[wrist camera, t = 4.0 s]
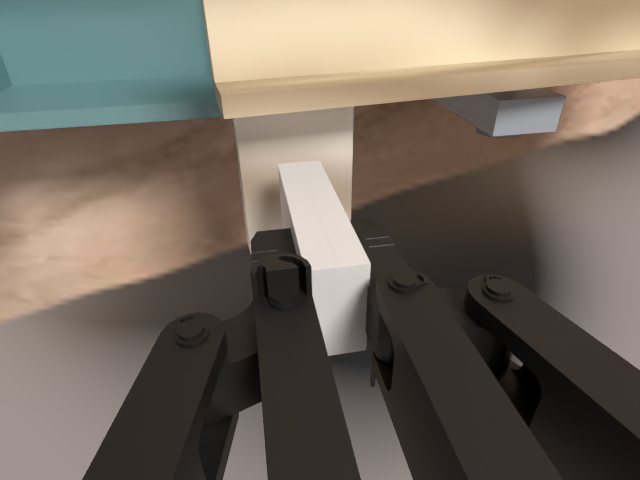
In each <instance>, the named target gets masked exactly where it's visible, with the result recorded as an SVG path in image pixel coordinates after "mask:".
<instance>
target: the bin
mask: <svg viewBox="0 0 640 480" xmlns="http://www.w3.org/2000/svg"><path fill="white" fill-rule="evenodd" d="M221 117H223V115H222V113H221V111H220V108H219V106H218V103H217V101H216V94H215V87H214V80H213V78H212V73H211V66H210V59H209V52H208V45H207V38H206V30H205V23H204V16H203V9H202V2H201V0H0V132H5V131H21V130H36V129H51V128H67V127H82V126H98V125H113V124H128V123H144V122H159V121H175V120H190V119H206V118H221Z"/></svg>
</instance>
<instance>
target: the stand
mask: <svg viewBox="0 0 640 480" xmlns="http://www.w3.org/2000/svg"><path fill="white" fill-rule="evenodd" d="M565 97H566V96H563V95H560V94H557V93H555V92H552V91H549V90H546V89H543V88H534V89H524V90H513V91H503V92H493V93H483V94H473V95H463V96H453V97H443V98H433V99H431V100H433V101H435V102H436V103H438V104H440V105H441V106H443V107H445V108H446V109H448V110H450V111H451V112H453V113H454V114H456V115H458V116H459V117H461V118H463V119H464V120H466V121H468V122H469V123H471V124H473V125H474V126H476V131H477V132H478V133H480V134H482V135H485V136H489V137H495V138H513V137H517V136H519V135H520V134H531V133H543V132H556V129H557V126H558V122H559V118H560V115H561V111H562V108H563V104H564V101H565Z"/></svg>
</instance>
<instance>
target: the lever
mask: <svg viewBox="0 0 640 480" xmlns="http://www.w3.org/2000/svg"><path fill="white" fill-rule="evenodd" d="M201 2H202V9H203V16H204V23H205V30H206V38H207V45H208V52H209V59H210V66H211V73H212V78H213V80H214V87H215V94H216V101H217V103H218V106H219V108H220V111H221V113H222V115H223V118H224V119H231V118H232V123H233V131H234V139H235V147H236V155H237V163H238V171H239V179H240V187H241V195H242V203H243V211H244V219H245V227H246V235H247V243H248V247H249V250H250V253H251V240H252V238H253V237H254V235H255V234H256V232H257V231H266V230H276V229H282V215H281V202H280V188H279V174H278V164H282V163H294V162H306V161H319V160H320V162H321V164H322V166H323V168H324V170H325V172H326V174H327V176H328V178H329V180H330V182H331V184H332V186H333V188H334V190H335V192H336V194H337V196H338V198H339V200H340V202H341V204H342V206H343V208H344V210H345V212H346V214H347V216H348V218H349V220H350V221H351V199H352V160H353V121H354V106H362V105H372V104H382V103H392V102H402V101H413V100H423V99H433V98H443V97H453V96H463V95H473V94H483V93H493V92H503V91H513V90H524V89H534V88H544V87H554V86H564V85H574V84H584V83H594V82H604V81H614V80H625V79H635V78H640V0H201Z"/></svg>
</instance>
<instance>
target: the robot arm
mask: <svg viewBox="0 0 640 480" xmlns="http://www.w3.org/2000/svg"><path fill="white" fill-rule="evenodd" d="M278 174H279V188H280V202H281V215H282V229H276V230H266V231H257V232H256V234H255V235H254V237H253V238H252V240H251V254H252V269H251V281H252V289H253V297H254V299H253V301H252V303H251V305H250V306H249V307H248V308H247V309H246V310H245V311H243V312H242V313H241V314H239V315H237V316H235V317H233V318H230V319H228V320H225V321H222V322H221V320H220V319H219V318H217V317H215V316H214V315H212V314H206V313H194V314H188V315H185V316H182V317H179V318H177V319H176V320H174V321H172V322H171V323H169V324H168V325H167V326H166V327H165V328H164V329H163V331H162V332H161V333H160V335H159V337H158V339H157V341H156V343H155V344H154V346H153V348H152V350H151V352H150V354H149V356H148V358H147V360H146V361H145V363H144V365H143V367H142V369H141V371H140V373H139V374H138V376H137V378H136V380H135V382H134V384H133V386H132V388H131V389H130V391H129V393H128V395H127V397H126V399H125V401H124V403H123V404H122V406H121V408H120V410H119V412H118V414H117V416H116V417H115V419H114V422H113V423H112V425H111V427H110V429H109V431H108V432H107V434H106V436H105V438H104V440H103V442H102V444H101V446H100V448H99V450H98V451H97V453H96V455H95V457H94V459H93V461H92V462H91V465H90V466H89V468H88V470H87V472H86V474H85V476H84V477H83V479H82V480H223V476H224V472H225V468H226V464H227V460H228V456H229V452H230V449H231V444H232V441H233V437H234V432H235V429H236V425H237V421H238V417H239V412H240V411H242V410H244V409H246V408H248V407H251V406H252V405H255V404H257V403H259V402H261V401H262V410H263V423H264V436H265V448H266V462H267V475H268V480H361V478H360V475H359V471H358V467H357V463H356V460H355V456H354V452H353V448H352V444H351V440H350V437H349V433H348V429H347V425H346V422H345V418H344V414H343V410H342V406H341V403H340V399H339V395H338V391H337V387H336V384H335V380H334V376H333V372H332V369H331V365H330V361H329V357H328V356H329V355H336V354H343V353H350V352H357V351H363V350H366V342H367V336H368V339H369V342H370V344H371V347H372V354H371V370H370V385H371V387H373V386H375V377H376V378H377V381H378V384H379V387H380V390H381V392H382V395H383V398H384V401H385V403H386V406H387V409H388V412H389V414H390V417H391V420H392V422H393V425H394V428H395V431H396V433H397V436H398V439H399V442H400V445H401V447H402V450H403V453H404V456H405V458H406V461H407V464H408V467H409V469H410V472H411V475H412V478H413V480H640V370H639V369H637V368H636V367H634V366H633V365H632V364H630V363H629V362H627V361H626V360H625V359H623V358H622V357H621V356H619V355H618V354H616V353H615V352H613V351H612V350H611V349H609V348H608V347H607V346H605V345H604V344H602V343H601V342H600V341H598V340H597V339H596V338H594V337H593V336H591V335H590V334H589V333H587V332H586V331H584V330H583V329H582V328H580V327H579V326H577V325H576V324H574V323H573V322H572V321H570V320H569V319H568V318H566V317H565V316H564V315H562V314H561V313H559V312H558V311H557V310H555V309H554V308H552V307H551V306H550V305H548V304H547V303H545V302H544V301H542V300H541V299H540V298H538V297H537V296H536V295H534V294H533V293H531V292H530V291H529V290H527V289H526V288H525V287H523V286H522V285H520V284H519V283H517V282H515V281H513V280H511V279H509V278H506V277H502V276H499V275H488V274H487V275H481V276H477V277H475V278H473V279H472V280H471V281H470V282H469V284H468V287H467V291H465V290H453V289H444V288H438V287H435V286H434V284H433V283H432V281H431V280H430V279H429V278H428V277H427V276H426V275H425V274H423V273H421V272H419V271H417V270H413V269H410V268H409V266H408V265H407V263H406V261H405V260H404V258H403V257H402V255H401V253H400V252H399V250H398V248H397V247H396V245H394V242H393V240H392V239H391V237H389V234H388V232H387V231H386V229H385V228H384V226H383V225H381V224H379V223H378V222H377V221H375V220H374V219H372V218H371V219H362V220H352V221H350V220H349V218H348V216H347V214H346V212H345V210H344V208H343V206H342V204H341V202H340V200H339V198H338V196H337V194H336V192H335V190H334V188H333V186H332V184H331V182H330V180H329V178H328V176H327V174H326V172H325V170H324V168H323V166H322V164H321V162H320V160H319V161H306V162H294V163H282V164H278ZM513 354H514V355H515V356H516V357H517V358H518V359H519V360H520V361H521V362H523V366H522V367H521V366H519V365H517V364H516V363H514V362H513V361H512V360H511V358H512V355H513Z"/></svg>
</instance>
